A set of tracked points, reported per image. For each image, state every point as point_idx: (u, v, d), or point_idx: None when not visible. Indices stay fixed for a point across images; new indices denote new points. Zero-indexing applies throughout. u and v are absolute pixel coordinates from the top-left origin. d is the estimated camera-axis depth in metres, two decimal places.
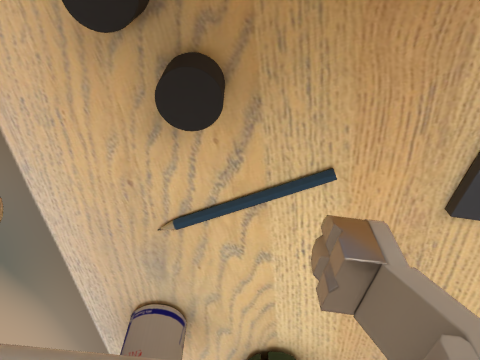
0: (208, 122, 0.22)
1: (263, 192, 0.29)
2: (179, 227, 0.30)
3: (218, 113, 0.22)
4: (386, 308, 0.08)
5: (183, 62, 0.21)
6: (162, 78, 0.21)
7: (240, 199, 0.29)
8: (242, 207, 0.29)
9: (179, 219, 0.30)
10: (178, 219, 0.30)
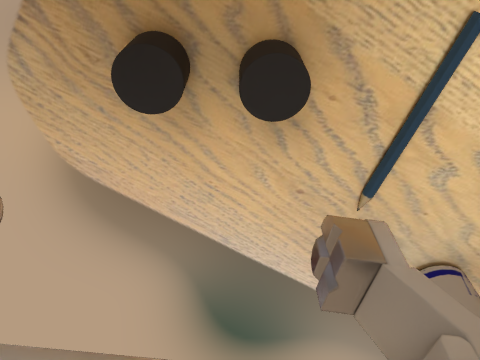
0: (306, 89, 0.21)
1: (421, 100, 0.24)
2: (372, 194, 0.28)
3: (306, 75, 0.20)
4: (386, 308, 0.08)
5: (244, 66, 0.21)
6: (240, 93, 0.21)
7: (404, 125, 0.25)
8: (413, 130, 0.25)
9: (366, 187, 0.28)
10: (365, 188, 0.28)
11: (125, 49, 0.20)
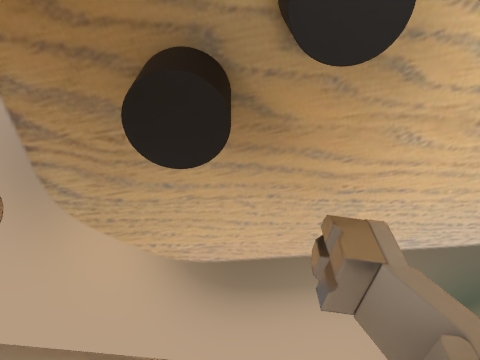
0: None
1: None
2: None
3: None
4: (386, 308, 0.08)
5: (284, 6, 0.12)
6: (304, 48, 0.12)
7: None
8: None
9: None
10: None
11: (124, 105, 0.13)
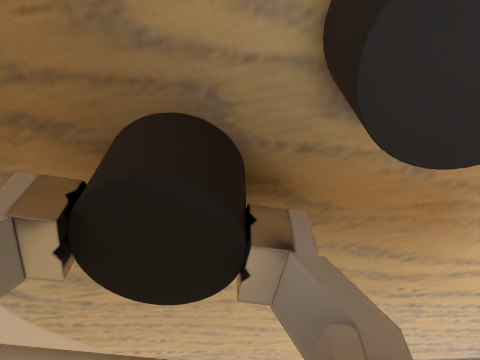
0: None
1: None
2: None
3: None
4: (294, 297, 0.08)
5: (344, 68, 0.07)
6: (381, 143, 0.07)
7: None
8: None
9: None
10: None
11: (70, 223, 0.08)
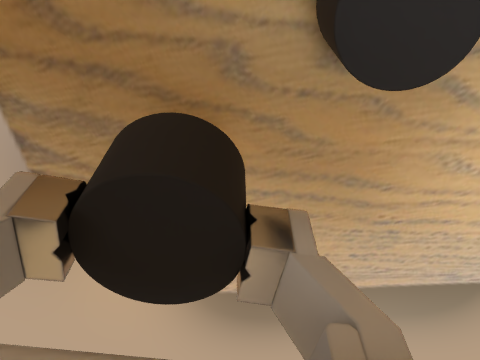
0: None
1: None
2: None
3: None
4: (294, 297, 0.08)
5: (328, 21, 0.10)
6: (351, 71, 0.10)
7: None
8: None
9: None
10: None
11: (70, 222, 0.08)
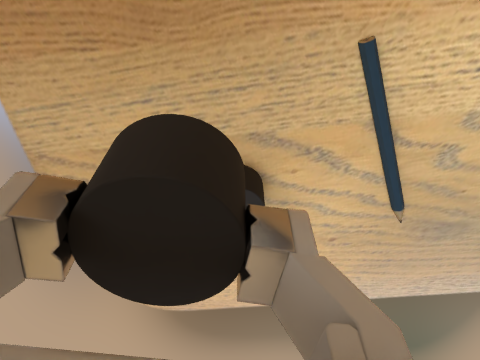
0: (256, 198, 0.25)
1: (375, 123, 0.25)
2: (400, 207, 0.28)
3: (247, 191, 0.24)
4: (294, 297, 0.08)
5: None
6: None
7: (380, 146, 0.26)
8: (389, 147, 0.25)
9: (391, 204, 0.28)
10: (391, 204, 0.28)
11: (70, 224, 0.08)
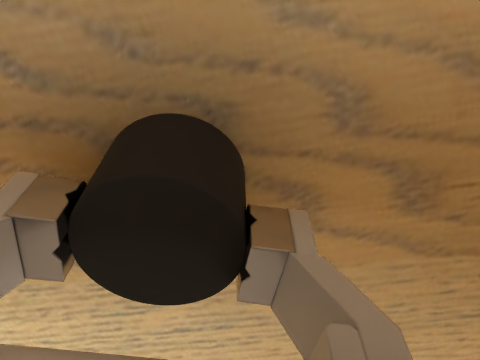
0: (105, 282, 0.09)
1: None
2: None
3: (133, 298, 0.09)
4: (294, 297, 0.08)
5: (245, 216, 0.09)
6: (214, 198, 0.08)
7: None
8: None
9: None
10: None
11: None
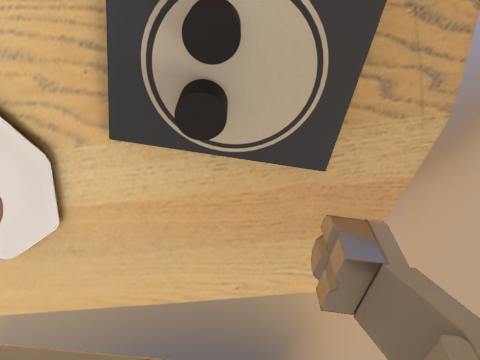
0: (191, 51, 0.26)
1: None
2: None
3: (200, 60, 0.26)
4: (386, 308, 0.08)
5: (240, 28, 0.26)
6: (230, 12, 0.24)
7: None
8: None
9: None
10: None
11: (224, 125, 0.29)
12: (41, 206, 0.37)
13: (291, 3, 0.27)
